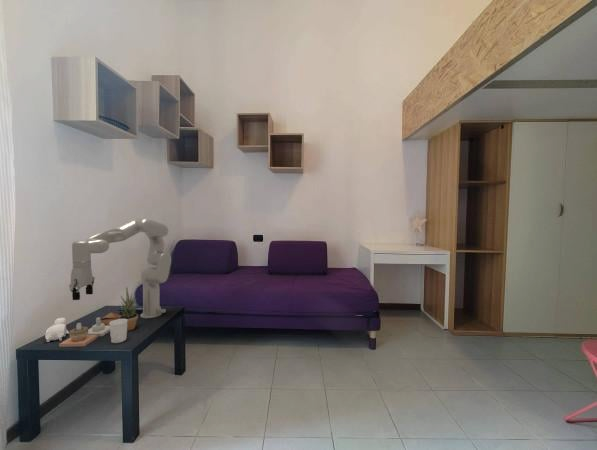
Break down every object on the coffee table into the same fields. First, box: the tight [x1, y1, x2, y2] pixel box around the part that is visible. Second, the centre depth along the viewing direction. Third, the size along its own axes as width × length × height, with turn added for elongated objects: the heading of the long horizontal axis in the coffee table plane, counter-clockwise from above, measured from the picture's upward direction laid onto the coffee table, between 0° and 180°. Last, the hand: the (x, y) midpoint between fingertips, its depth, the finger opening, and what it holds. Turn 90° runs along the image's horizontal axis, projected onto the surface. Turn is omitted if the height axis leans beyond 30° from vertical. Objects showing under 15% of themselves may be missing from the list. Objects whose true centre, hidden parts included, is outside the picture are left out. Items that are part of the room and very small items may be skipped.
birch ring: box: [69, 326, 89, 338], centre depth 141 cm, size 7×7×3 cm
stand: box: [87, 317, 110, 337], centre depth 153 cm, size 11×11×8 cm
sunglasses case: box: [93, 311, 122, 326], centre depth 169 cm, size 18×7×7 cm
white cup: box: [109, 319, 128, 344], centre depth 144 cm, size 8×8×10 cm
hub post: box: [58, 322, 99, 348], centre depth 141 cm, size 12×10×10 cm
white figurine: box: [44, 317, 70, 343], centre depth 147 cm, size 9×8×15 cm
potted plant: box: [119, 286, 139, 332], centre depth 158 cm, size 10×10×25 cm
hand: (83, 296), depth 144 cm, fingers open, 9 cm apart
